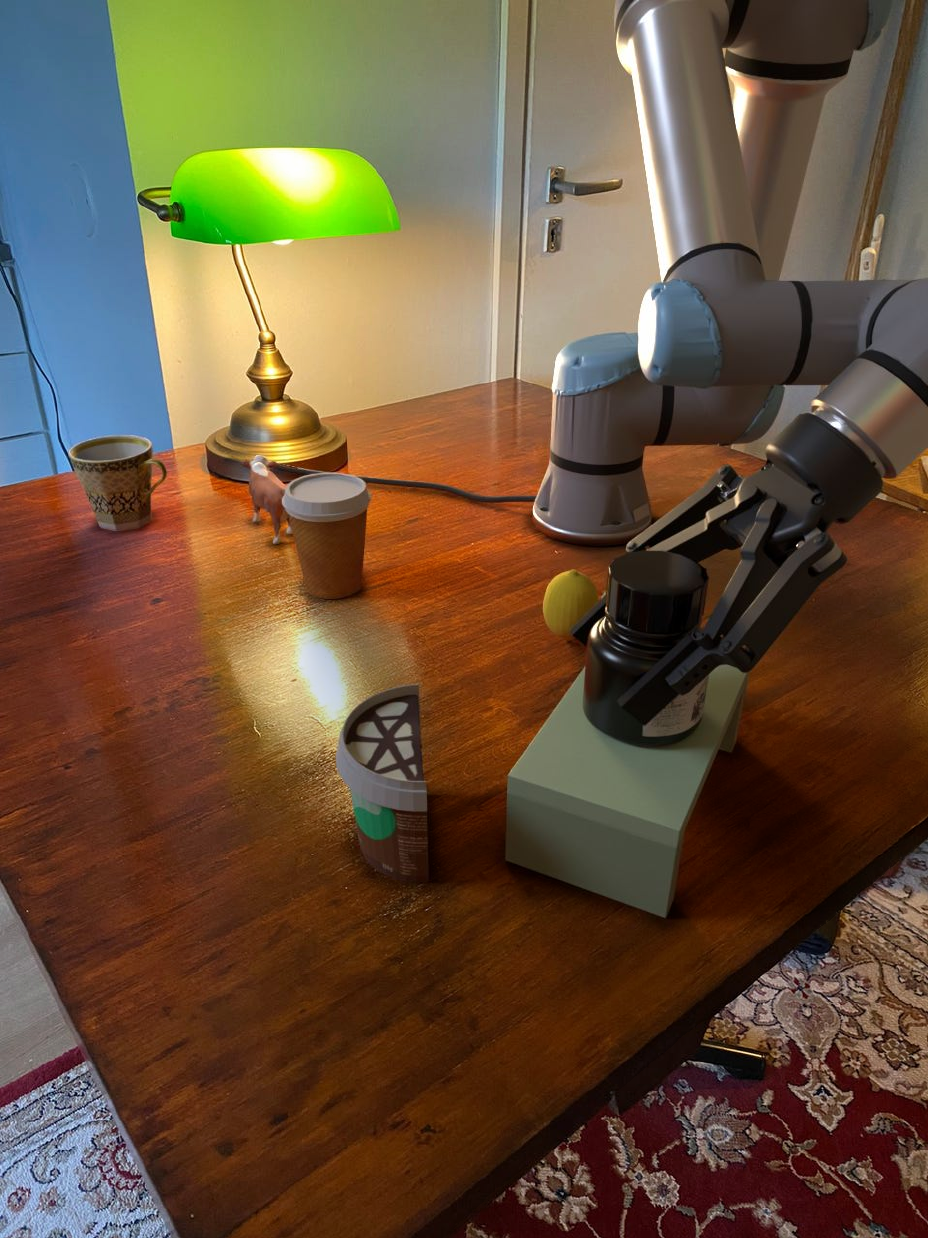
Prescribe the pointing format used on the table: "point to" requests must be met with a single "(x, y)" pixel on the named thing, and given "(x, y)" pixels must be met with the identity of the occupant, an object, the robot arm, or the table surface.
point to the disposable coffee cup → (329, 531)
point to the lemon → (568, 602)
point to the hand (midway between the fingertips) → (604, 675)
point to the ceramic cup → (117, 479)
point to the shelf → (615, 798)
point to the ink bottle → (644, 644)
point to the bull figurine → (267, 493)
